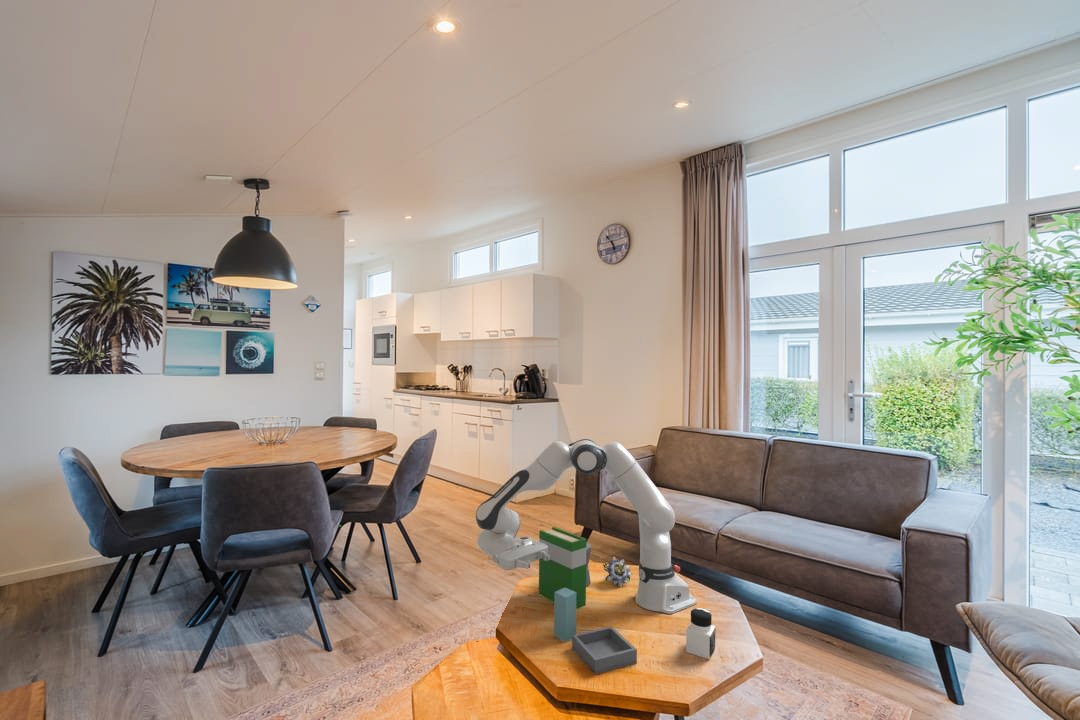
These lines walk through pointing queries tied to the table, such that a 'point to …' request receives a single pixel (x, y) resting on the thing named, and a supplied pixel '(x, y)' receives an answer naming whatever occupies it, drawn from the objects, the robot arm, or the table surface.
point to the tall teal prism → (564, 614)
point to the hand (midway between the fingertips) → (538, 562)
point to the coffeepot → (588, 549)
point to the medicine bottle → (700, 634)
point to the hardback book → (563, 565)
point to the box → (604, 650)
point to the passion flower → (617, 571)
